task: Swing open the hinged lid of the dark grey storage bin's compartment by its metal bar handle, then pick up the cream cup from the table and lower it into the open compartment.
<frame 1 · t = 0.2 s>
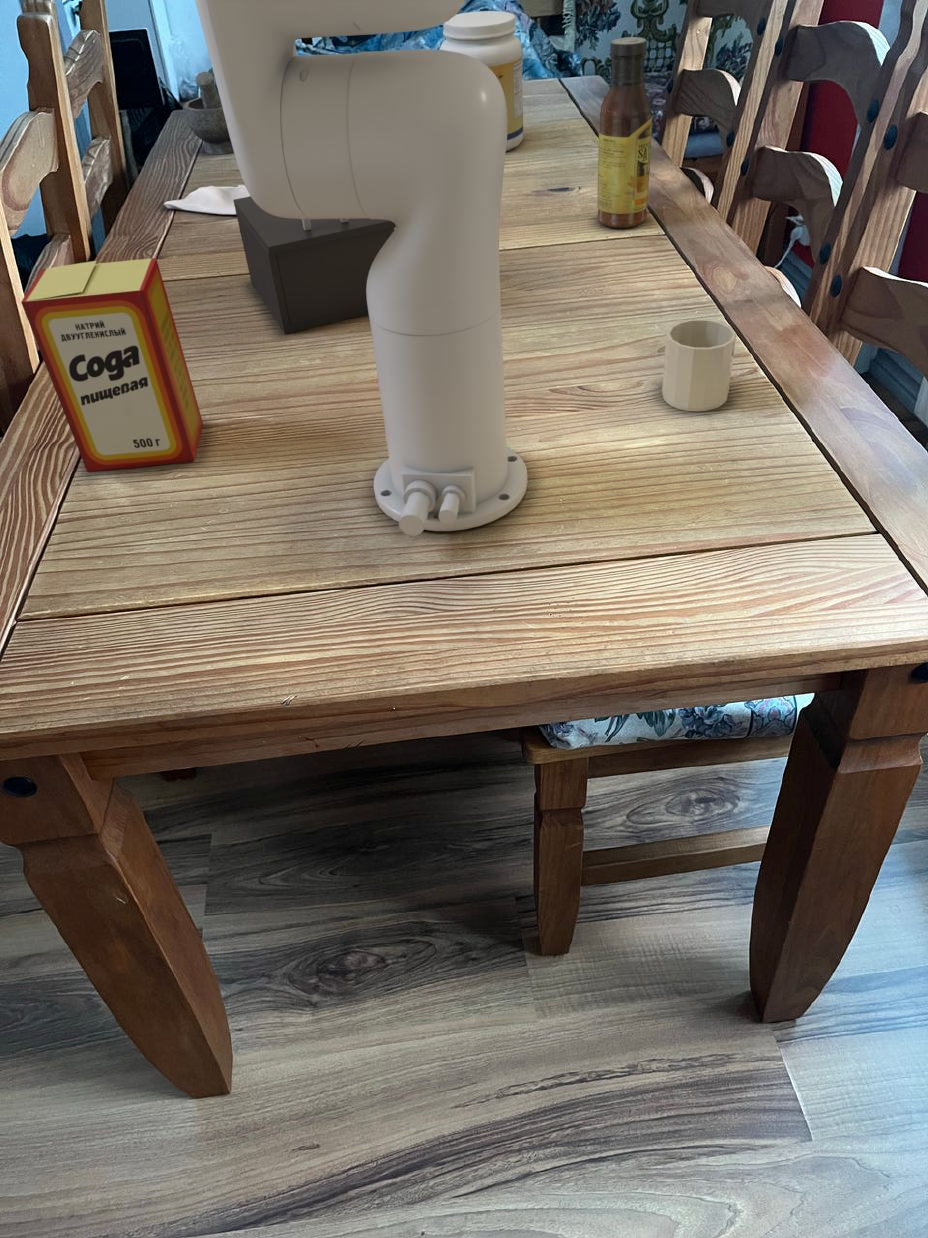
sauce bottle: (621, 222, 121), on the table
dark grey storage bin: (324, 294, 110), on the table
lucky cat figurine: (359, 204, 133), on the table
supplement tub: (484, 145, 149), on the table
cloth: (254, 201, 137), on the table
compartment lid: (308, 192, 102), point 11 cm above the table, hinge at 0.0°
mortar and pestle: (224, 150, 156), on the table
baking soda box: (147, 448, 88), on the table
cup: (694, 395, 88), on the table
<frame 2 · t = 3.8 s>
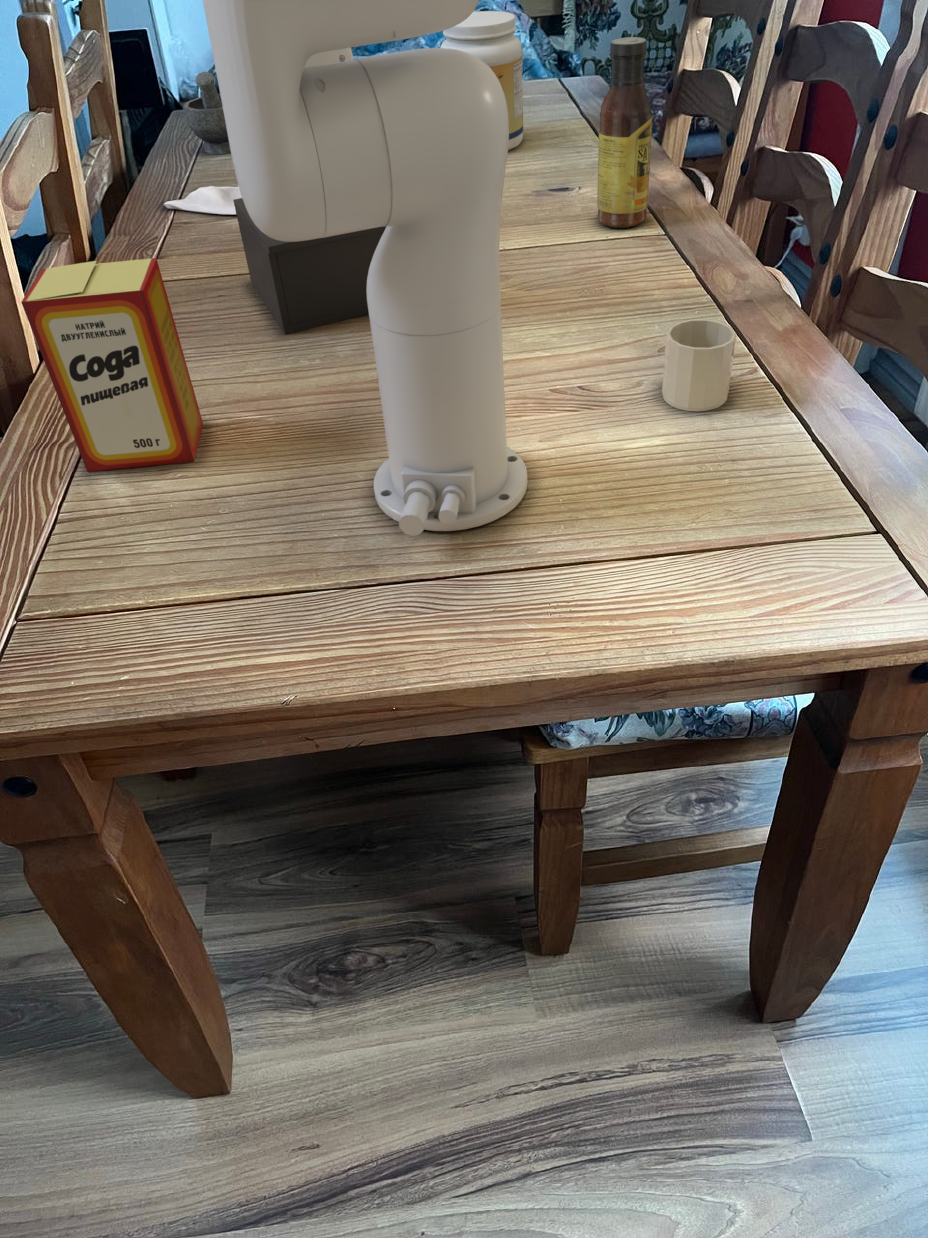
hand: (325, 218, 99), 10 cm above the table, tool pointing down, fingers closed on compartment lid, 5 cm apart
compartment lid: (308, 192, 102), point 11 cm above the table, hinge at 0.0°, touching gripper
everything else where it was.
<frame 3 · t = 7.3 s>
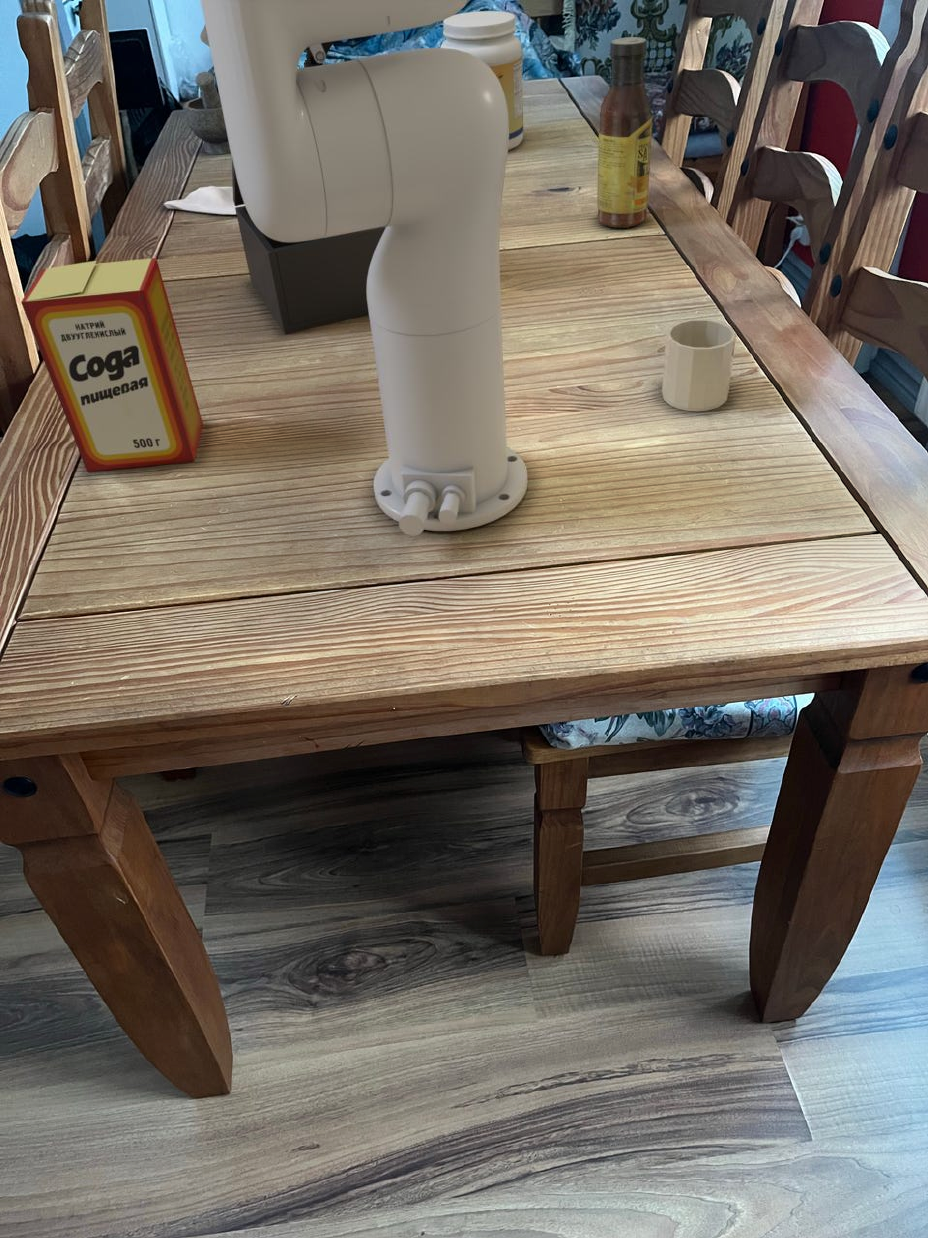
hand: (290, 108, 99), 19 cm above the table, tool pointing down, fingers closed on compartment lid, 5 cm apart
compartment lid: (289, 130, 102), point 17 cm above the table, hinge at 46.1°, touching gripper
everything else where it was.
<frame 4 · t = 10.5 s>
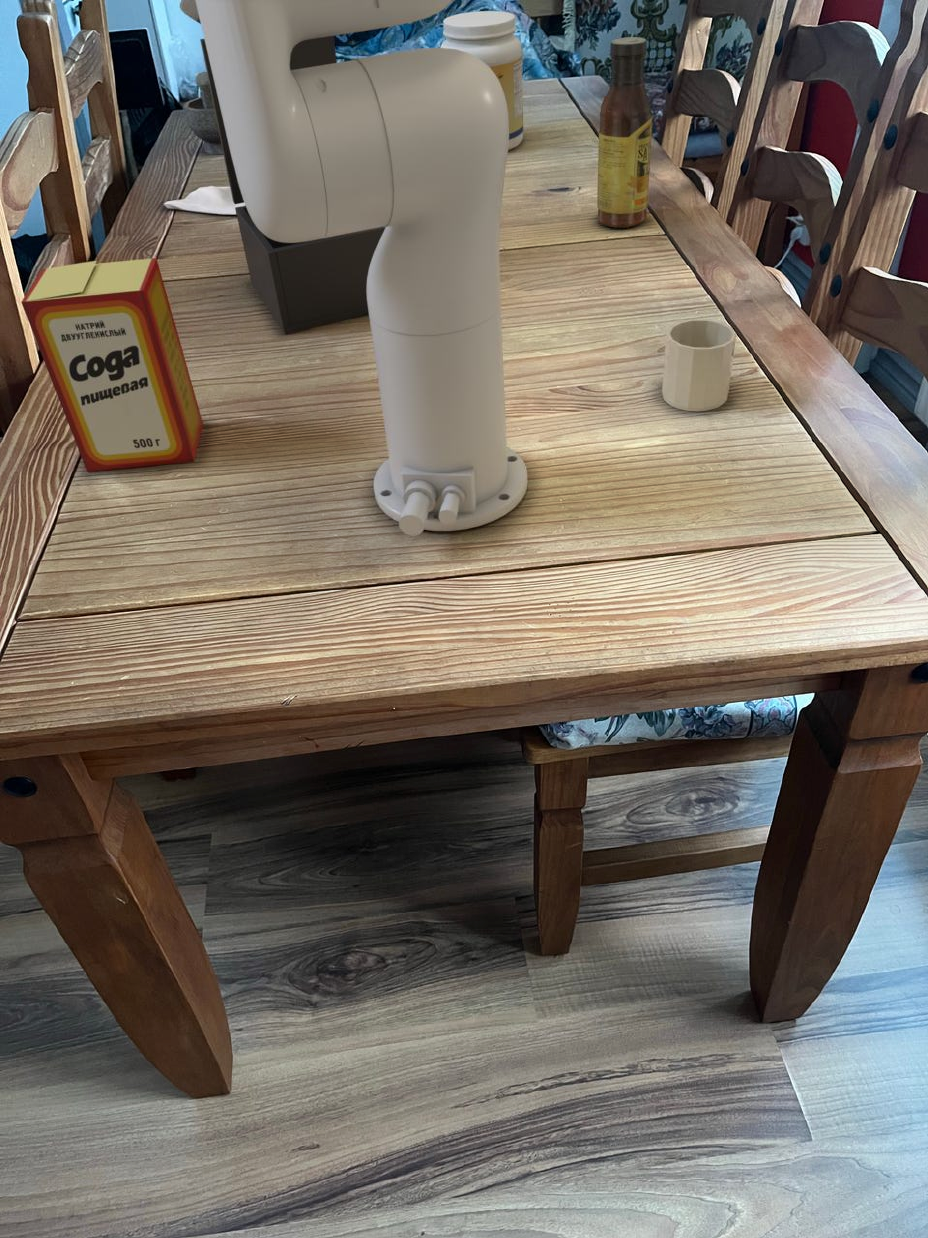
hand: (265, 74, 105), 21 cm above the table, tool pointing down, fingers closed on compartment lid, 5 cm apart
compartment lid: (275, 108, 105), point 18 cm above the table, hinge at 83.5°, touching gripper
everything else where it was.
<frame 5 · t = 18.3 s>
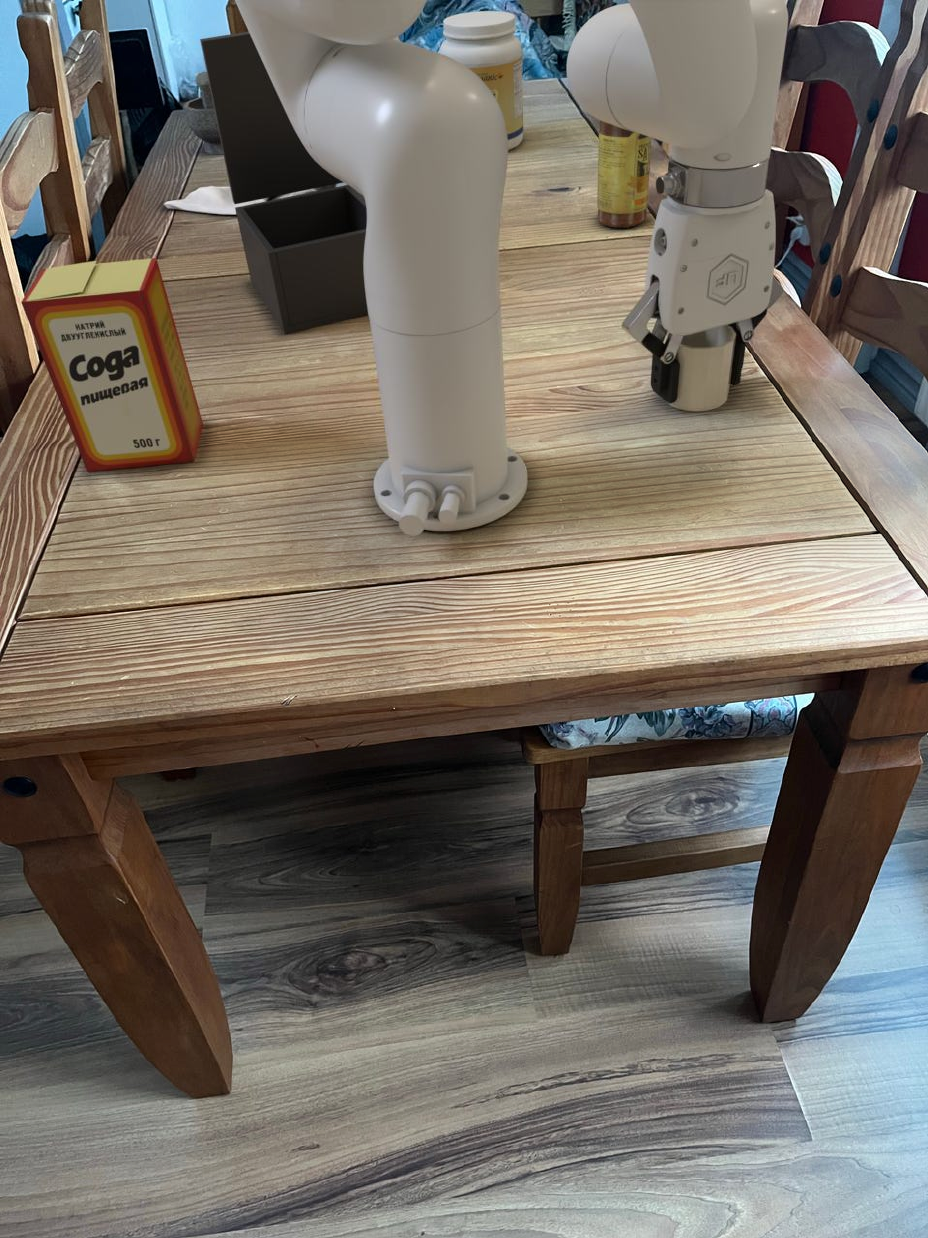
hand: (695, 385, 87), 1 cm above the table, tool pointing down, fingers closed on cup, 5 cm apart
compartment lid: (275, 108, 105), point 18 cm above the table, hinge at 83.6°
cup: (694, 395, 88), on the table, touching gripper
everything else where it was.
when the fingers open (4 cm above the table, at t = 29.4 s): cup stays where it is, resting on dark grey storage bin.
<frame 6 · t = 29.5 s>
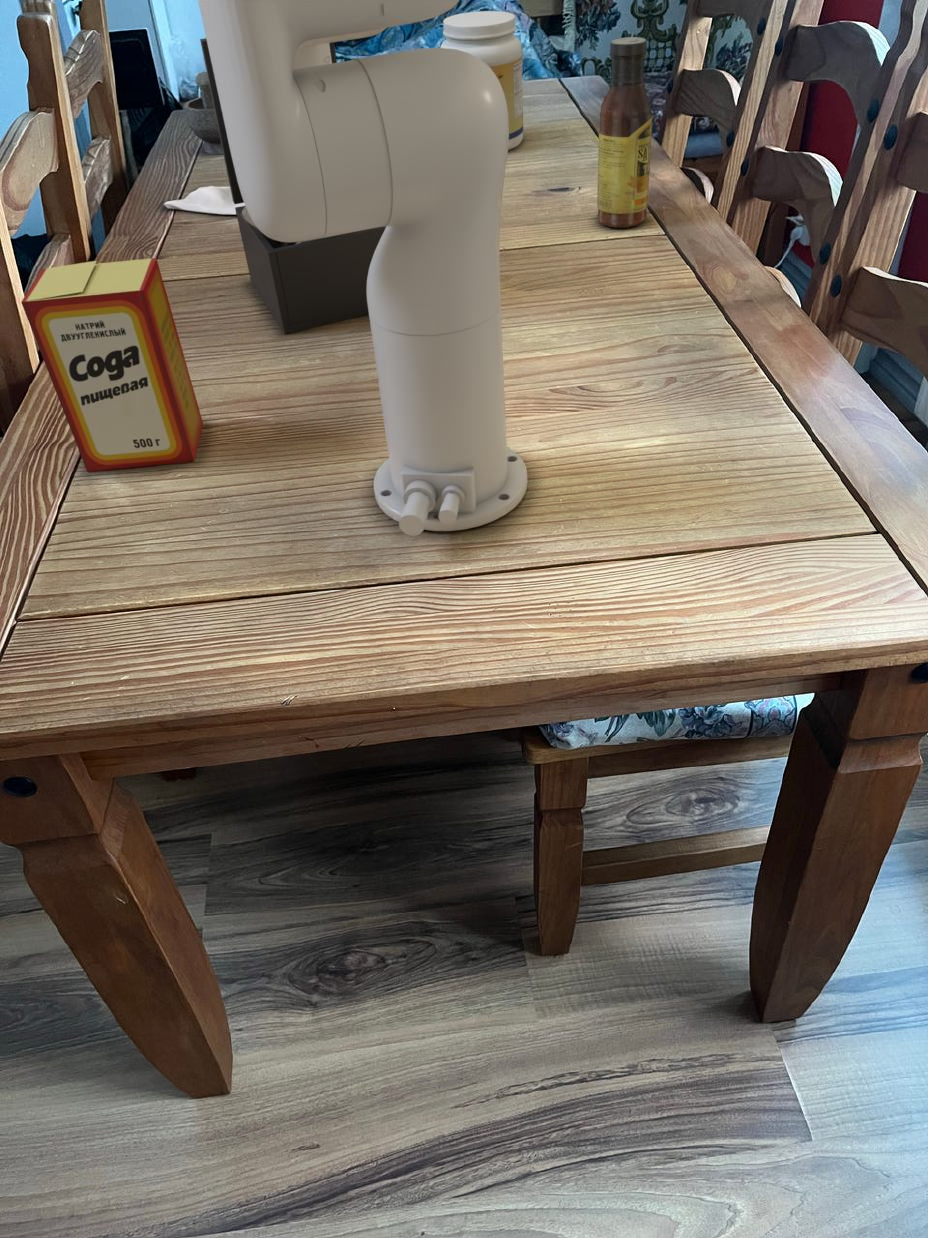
hand: (327, 271, 106), 4 cm above the table, tool pointing down, fingers open, 6 cm apart
cup: (331, 296, 108), point 1 cm above the table, touching dark grey storage bin
everything else where it was.
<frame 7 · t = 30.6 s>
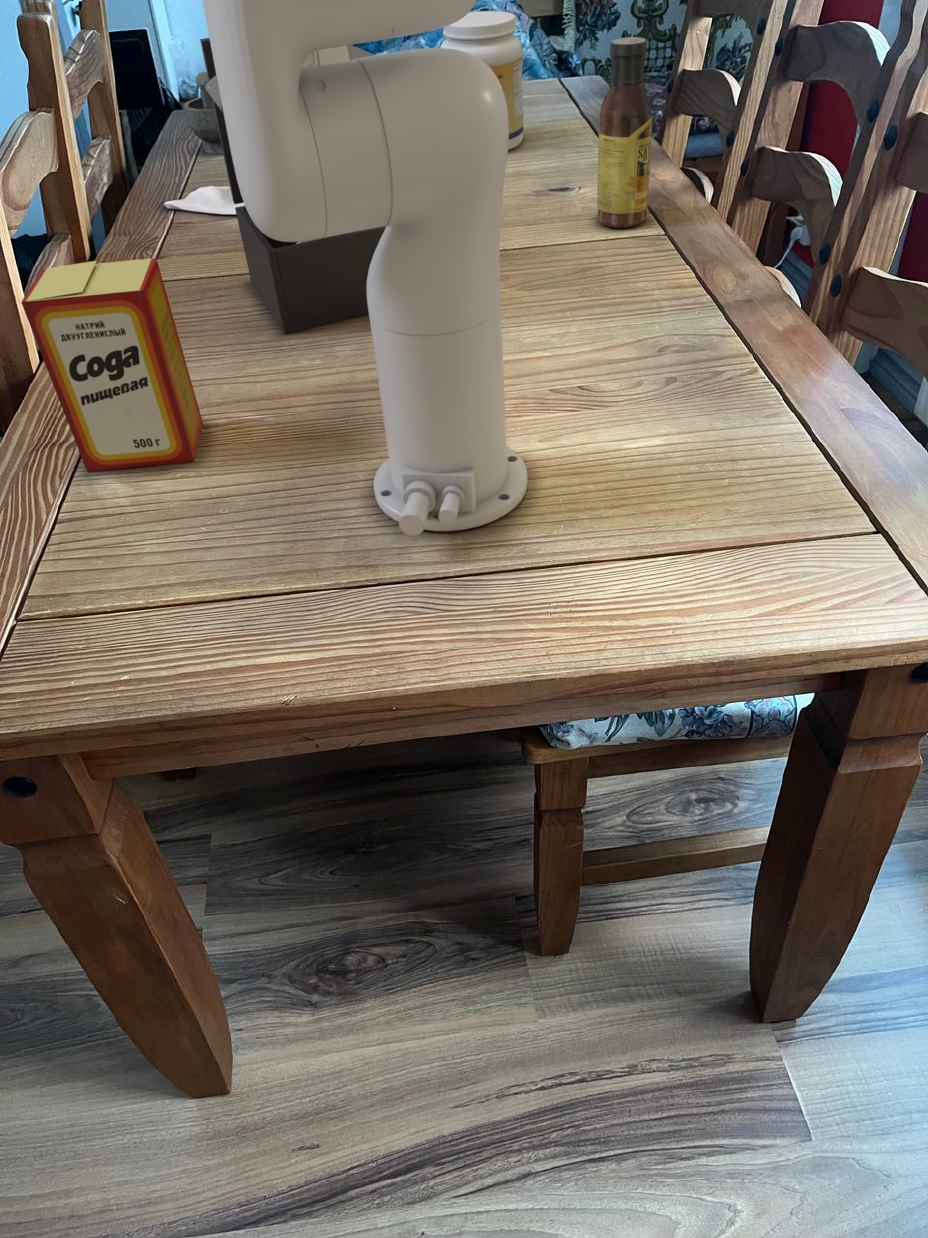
hand: (309, 163, 98), 15 cm above the table, tool pointing down, fingers open, 9 cm apart
nothing on the table moved.
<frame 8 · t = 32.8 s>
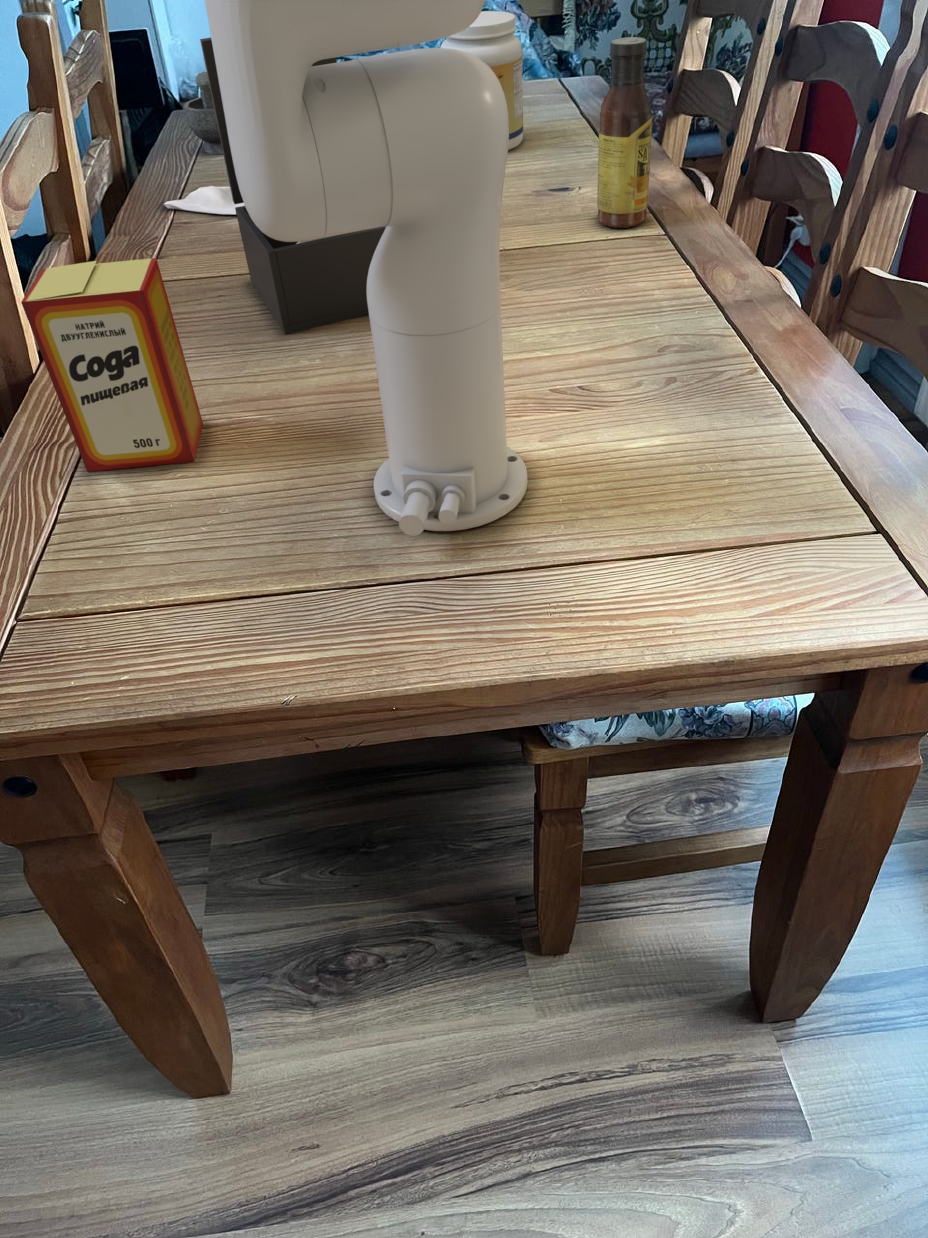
hand: (284, 11, 89), 28 cm above the table, tool pointing down, fingers open, 9 cm apart
nothing on the table moved.
at the end: compartment lid at +84° (first picture: +0°); cup inside the target area in the dark grey storage bin (3.0 cm from its centre), point 0.8 cm above the dark grey storage bin's base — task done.
